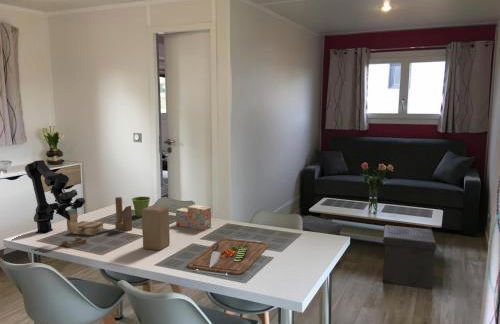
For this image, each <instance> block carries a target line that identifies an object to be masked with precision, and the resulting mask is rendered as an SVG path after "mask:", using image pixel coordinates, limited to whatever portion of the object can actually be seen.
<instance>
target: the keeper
mask: <svg viewBox="0 0 500 324" xmlns="http://www.w3.org/2000/svg"><path fill="white" fill-rule="evenodd" d="M84 244H87V238H83V237H80V236H75V241H74V242H70V241H67V240H64V239H63V240H61V245H63V246H64V247H68V248H70V249H71V248H74V247H78V246H82V245H84Z"/></svg>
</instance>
